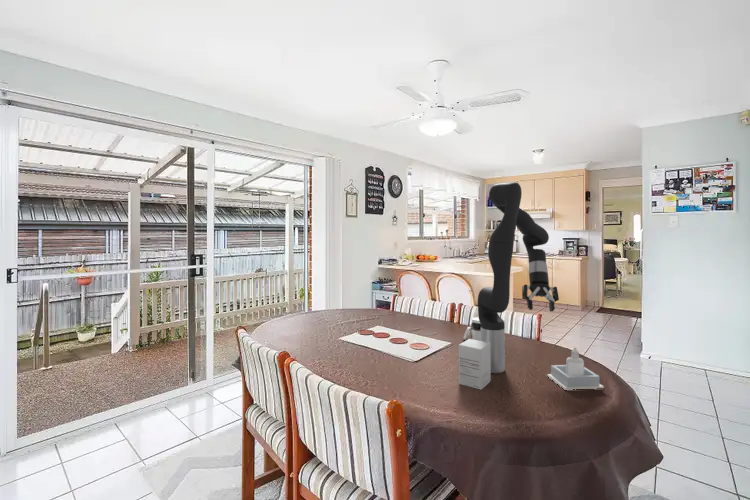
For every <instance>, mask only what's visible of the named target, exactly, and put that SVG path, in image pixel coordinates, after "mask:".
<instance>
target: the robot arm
mask: <svg viewBox="0 0 750 500" xmlns="http://www.w3.org/2000/svg"><path fill="white" fill-rule="evenodd" d="M488 196H489V200H490V202H491V204H492V205H493V206H494V207H496V209H498V210H499V211H500V212H501V213H503V216H502V219H501V221H500V222H499V224H498V225H497V226H496V228H495V229H494V230H493V232H492V233H491V235H490V237H489V243H488V249H487V252H488V253H487V256H488V261H489V263H490V266H491V269H492V273H493V285H492V287H491V286H484V287H483V288H481V289H480V290H479V293H478V296H477V312H478V313H477V314H478V315H477V317H479V321H480V324H481V341H483V342H489V343H490V367H491V374H501V373H503V372H505V369H506V368H505V366H506V365H505V362H506V361H505V354H506V353H505V342H506V340H505V337H506V334H505V332H506V331H505V328H506V327H505V326H506V325H505V321H504V319H503V318H502V317H500V315H499V313H501V314H502V313H504V312H505V311H506V310H507V308H508V307H509V303H510V292H511V290H510V288H511V287H510V286H511V285H510V284H511V282H510V281H511V279H510V278H511V267H512V257H513V251H514V243H515V235H516V234H515V233H516V228H517V229H518V231H520V233H521V234H522V242H523V244H524V247H525V248H526V249H525V250H526V252H527V258H528V278H529V279H528V280H529V285H527V284H524V285H522V286H521V290H522V291H521V293H522V295H521V297H522V300H525V301H526V303H527V309H529V310H528V311H532V310H533V309H534V307H533V306H534V305H533V298H534V297H540V298H543V297H544V298H545V300H546V301H548V307H549V312H554V310H555V309H556V307H555V303H556V302H558V301H559V300H560V299H559V298H560V297H559V291H558V287H557V286H553V287H551V286H550V284H549V283H550V281H549V271H548V264H547V256H546V255H547V254H546V251H545V250H544V249H542V248H534V247H537V246H538V247H539V246H542V245H543V246H544V245H546V244H547V243H548V242H549V239H550V238H549V237H550V236H549V233H548V232H547V230H546V229H545V228H544V227H542V226H540V225H539V224H538V223H536V222H535V220H534V219H533V217H532V216H531V214H529V212H527V211H525V210H523V209H522V208H520V206H521V201H522V187H521V184H520V183H518V182H514V181H513V182H503V183H502V182H500V183H495V184H493V185H492V186H491V188H490V190H489V195H488ZM528 291H530V294H529V295H528ZM550 292H551V293H550Z"/></svg>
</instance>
